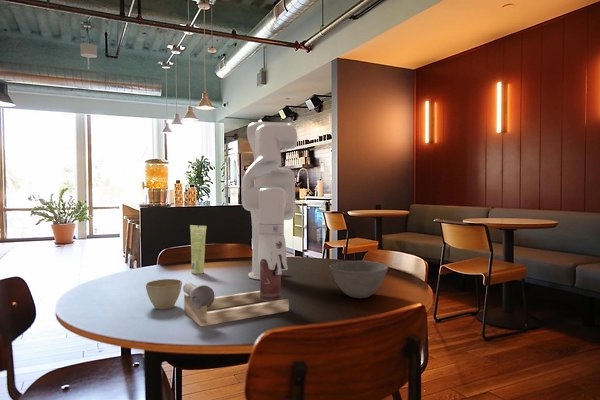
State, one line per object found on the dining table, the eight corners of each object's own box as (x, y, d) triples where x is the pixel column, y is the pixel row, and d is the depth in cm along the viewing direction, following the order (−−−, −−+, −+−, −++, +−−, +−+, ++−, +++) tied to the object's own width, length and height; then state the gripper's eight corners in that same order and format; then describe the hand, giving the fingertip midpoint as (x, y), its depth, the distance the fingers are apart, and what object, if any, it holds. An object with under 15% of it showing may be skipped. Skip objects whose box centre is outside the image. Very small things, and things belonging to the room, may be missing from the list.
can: (278, 309, 117) (278, 260, 117) (257, 308, 118) (257, 259, 118) (283, 303, 123) (284, 257, 123) (263, 302, 124) (263, 256, 124)
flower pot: (151, 302, 124) (151, 279, 123) (185, 302, 124) (185, 278, 124) (141, 312, 114) (141, 286, 113) (178, 311, 114) (177, 286, 114)
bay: (265, 299, 128) (266, 267, 128) (292, 312, 114) (292, 276, 114) (176, 313, 113) (176, 277, 113) (194, 330, 100) (194, 289, 99)
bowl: (352, 286, 145) (353, 258, 145) (399, 296, 132) (399, 265, 132) (316, 296, 132) (316, 265, 132) (364, 308, 119) (364, 273, 119)
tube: (203, 271, 171) (203, 224, 171) (206, 273, 166) (206, 225, 166) (190, 272, 169) (190, 225, 168) (192, 274, 164) (192, 226, 164)
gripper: (295, 231, 116) (295, 296, 116) (270, 227, 129) (270, 285, 129) (271, 232, 112) (271, 299, 112) (248, 228, 125) (248, 288, 125)
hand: (270, 291), depth 121 cm, fingers closed
